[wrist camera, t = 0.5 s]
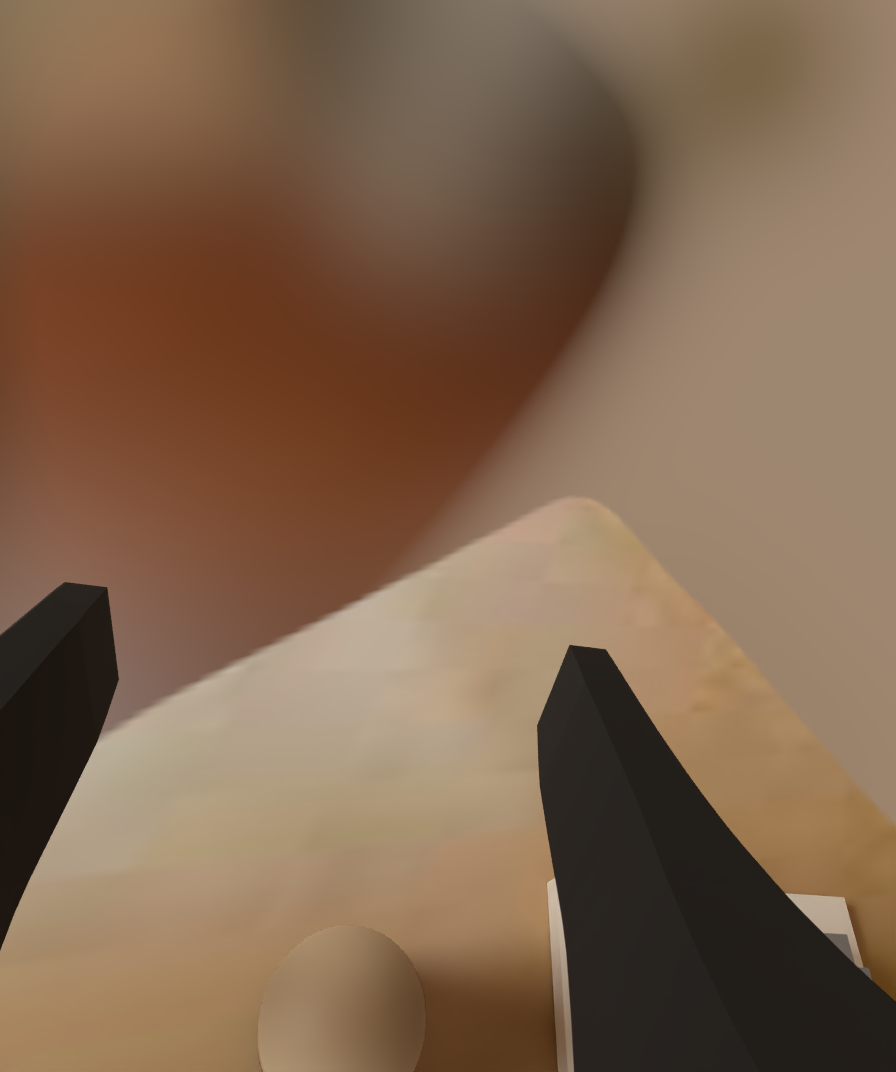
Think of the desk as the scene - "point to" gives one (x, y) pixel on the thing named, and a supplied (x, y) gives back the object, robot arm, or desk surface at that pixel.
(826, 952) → the robot arm
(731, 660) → the desk surface
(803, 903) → the cup bracket
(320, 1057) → the rail end peg
